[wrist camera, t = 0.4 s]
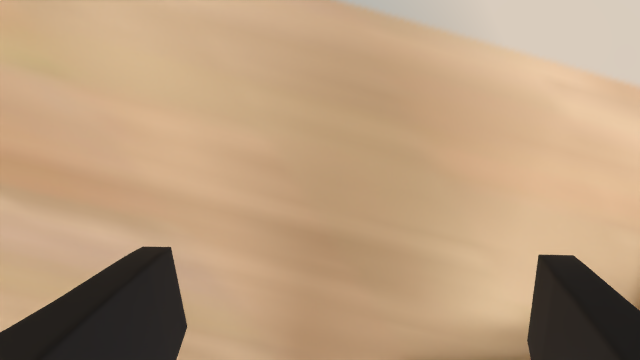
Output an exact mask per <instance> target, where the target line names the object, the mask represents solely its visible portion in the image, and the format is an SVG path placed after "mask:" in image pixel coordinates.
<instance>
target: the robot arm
mask: <svg viewBox="0 0 640 360" xmlns="http://www.w3.org/2000/svg"><path fill="white" fill-rule="evenodd" d="M186 329H187V323H186V318H185V314H184V309H183V304H182V299H181V294H180V289H179V284H178V279H177V274H176V269H175V265H174V260H173V255H172V250H171V247H141V248H140V249H138V250H136V251H134V252H132V253H130V254H128V255H127V256H125V257H123V258H122V259H120V260H119V261H117V262H115V263H114V264H112V265H111V266H109V267H107V268H106V269H104V270H103V271H101V272H99V273H98V274H96V275H95V276H93V277H92V278H90V279H89V280H87V281H85V282H84V283H82V284H81V285H79V286H77V287H76V288H74V289H73V290H71V291H70V292H68V293H66V294H65V295H63V296H62V297H60V298H58V299H57V300H55V301H54V302H52V303H50V304H48V305H47V306H45V307H43V308H42V309H40V310H38V311H37V312H35V313H33V314H31V315H30V316H28V317H26V318H25V319H23V320H21V321H19V322H18V323H16V324H14V325H13V326H11V327H9V328H8V329H6V330H4V331H2V332H0V360H176V359H177V356H178V353H179V350H180V347H181V344H182V341H183V338H184V335H185V332H186ZM527 341H528V346H529V352H530V357H531V360H640V311H639V310H638V309H637V308H636V307H634V306H633V305H632V304H631V303H630V302H628V301H627V300H626V299H625V298H624V297H622V296H621V295H620V294H619V293H618V292H617V291H615V290H614V289H613V288H612V287H611V286H609V285H608V284H607V283H606V282H605V281H604V280H602V279H601V278H600V277H599V276H598V275H596V274H595V273H594V272H593V271H592V270H591V269H589V268H588V267H587V266H586V265H585V264H583V263H582V262H581V261H580V260H578V259H577V258H576V257H575V256H573V255H539V256H538V264H537V271H536V279H535V286H534V294H533V302H532V309H531V317H530V324H529V332H528V340H527Z"/></svg>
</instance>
